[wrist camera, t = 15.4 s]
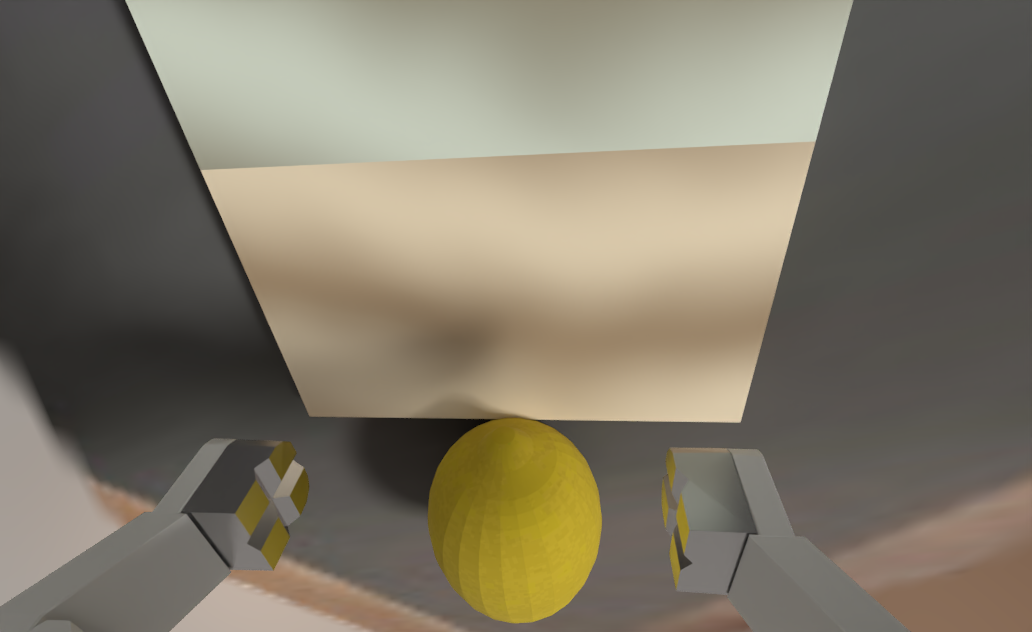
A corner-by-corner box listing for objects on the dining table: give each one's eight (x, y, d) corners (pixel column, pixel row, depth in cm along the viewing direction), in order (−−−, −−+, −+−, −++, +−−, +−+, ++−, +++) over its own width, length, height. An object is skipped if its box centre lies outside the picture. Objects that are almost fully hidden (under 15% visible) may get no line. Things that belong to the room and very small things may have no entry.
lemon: (391, 398, 15) (437, 541, 20) (425, 558, 11) (474, 694, 16) (554, 348, 17) (562, 493, 21) (643, 475, 12) (629, 623, 17)
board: (7, -374, 8) (-57, -412, 7) (964, -555, 6) (1020, -629, 6) (321, 395, 18) (309, 416, 17) (731, 399, 16) (740, 422, 15)
